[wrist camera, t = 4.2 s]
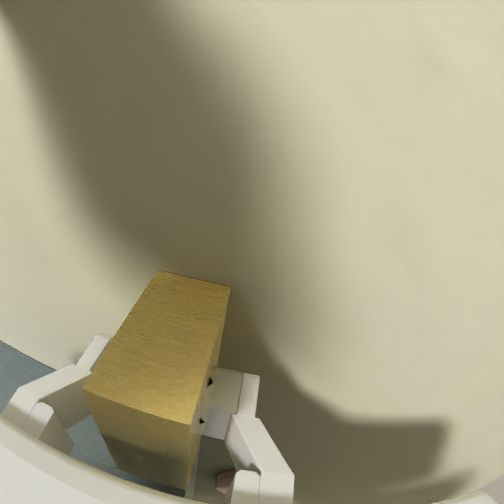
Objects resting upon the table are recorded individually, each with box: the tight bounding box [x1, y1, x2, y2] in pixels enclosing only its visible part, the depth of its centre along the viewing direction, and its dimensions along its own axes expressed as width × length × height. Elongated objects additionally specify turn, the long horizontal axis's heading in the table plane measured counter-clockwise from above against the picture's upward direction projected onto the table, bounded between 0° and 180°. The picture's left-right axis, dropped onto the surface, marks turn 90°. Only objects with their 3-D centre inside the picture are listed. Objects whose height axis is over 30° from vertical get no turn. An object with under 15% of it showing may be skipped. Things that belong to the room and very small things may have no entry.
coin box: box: [0, 341, 202, 500], centre depth 13 cm, size 20×15×10 cm
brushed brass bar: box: [82, 270, 231, 490], centre depth 9 cm, size 2×5×5 cm, turn 170°
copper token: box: [216, 470, 237, 495], centre depth 17 cm, size 5×5×1 cm
